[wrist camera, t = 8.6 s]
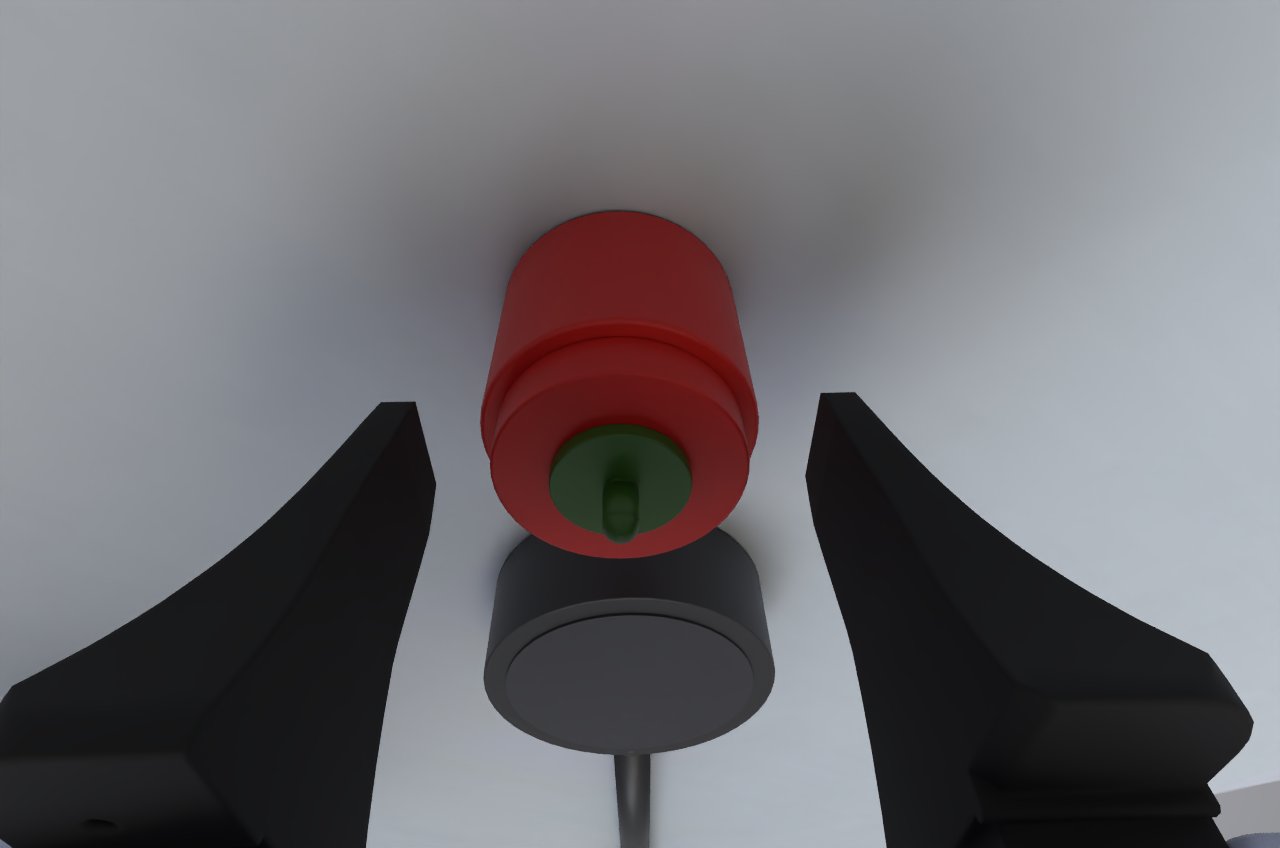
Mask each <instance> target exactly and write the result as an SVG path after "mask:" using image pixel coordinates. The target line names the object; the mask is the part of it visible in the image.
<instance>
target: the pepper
mask: <svg viewBox="0 0 1280 848" xmlns="http://www.w3.org/2000/svg"><path fill="white" fill-rule="evenodd" d="M758 424H759V416H758V408H757V402H756V397H755V393H754V388H753V384H752V379H751V375H750V370H749V366H748V361H747V357H746V352H745V348H744V343H743V339H742V334H741V330H740V325H739V321H738V316H737V312H736V307H735V303H734V298H733V294H732V290H731V287H730V283H729V280H728V277H727V275H726V273H725V271H724V269H723V267H722V265H721V264H720V262H719V261H718V260H717V258H716V257H715V255H714V254H713V253H712V252H711V251H710V250H709V248H708V247H707V246H706V245H705V244H704V243H703V242H701V241H700V240H699V239H698V238H697V237H695V236H694V235H693V234H691V233H690V232H688V231H686V230H685V229H683V228H682V227H680V226H678V225H676V224H673V223H671V222H669V221H667V220H664V219H661V218H658V217H655V216H651V215H647V214H641V213H636V212H621V211H615V212H602V213H596V214H591V215H586V216H583V217H580V218H577V219H574V220H571V221H568V222H566V223H564V224H562V225H560V226H558V227H556V228H554V229H553V230H551V231H550V232H548V233H547V234H545V235H544V236H542V237H541V238H540V239H539V240H538V241H537V242H536V243H534V244H533V245H532V246H531V247H530V248H529V249H528V251H527V252H526V253H525V254H524V255H523V257H522V258H521V259H520V261H519V263H518V264H517V266H516V267H515V269H514V271H513V274H512V276H511V278H510V281H509V283H508V287H507V291H506V295H505V300H504V305H503V310H502V314H501V319H500V324H499V328H498V333H497V338H496V342H495V347H494V352H493V356H492V361H491V366H490V370H489V375H488V380H487V385H486V389H485V394H484V399H483V403H482V408H481V420H480V426H481V435H482V440H483V443H484V447H485V450H486V453H487V455H488V457H489V459H490V470H491V478H492V482H493V485H494V489H495V491H496V493H497V495H498V497H499V499H500V502H501V503H502V504H503V506H504V507H505V509H506V510H507V512H508V513H509V514H510V515H511V516H512V517H513V518H514V520H515V521H516V522H517V523H519V524H520V525H521V526H522V527H523V528H525V529H526V530H527V531H529V532H530V533H532V534H533V535H535V536H536V537H538V538H539V539H541V540H543V541H545V542H547V543H549V544H551V545H554V546H556V547H559V548H561V549H564V550H567V551H571V552H574V553H577V554H582V555H587V556H592V557H601V558H638V557H645V556H652V555H656V554H660V553H665V552H668V551H671V550H674V549H677V548H680V547H683V546H685V545H687V544H689V543H692V542H694V541H696V540H697V539H699V538H701V537H703V536H704V535H706V534H707V533H709V532H710V531H711V530H713V529H714V528H716V527H717V526H718V525H719V524H720V523H721V522H722V521H723V520H724V519H725V518H727V516H728V515H729V514H730V513H731V512H732V510H733V509H734V508H735V506H736V505H737V503H738V501H739V500H740V498H741V496H742V494H743V491H744V489H745V486H746V484H747V480H748V475H749V463H750V457H751V455H752V452H753V449H754V447H755V444H756V439H757V435H758Z"/></svg>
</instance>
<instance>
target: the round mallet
mask: <svg viewBox="0 0 1280 848" xmlns="http://www.w3.org/2000/svg"><path fill="white" fill-rule="evenodd" d="M774 678H775V667H774V661H773V656H772V650H771V644H770V639H769V633H768V627H767V622H766V616H765V610H764V605H763V599H762V593H761V588H760V582H759V576H758V573H757V570H756V568H755V565H754V563H753V561H752V560H751V558H750V557H749V555H748V554H747V552H746V551H745V550H744V549H743V548H742V547H741V546H740V545H739V544H738V543H737V542H736V541H735V540H733V539H732V538H731V537H730V536H728V535H727V534H726V533H724V532H722V531H721V530H719V529H717V528H714V529H713V530H711V531H710V532H709V533H707V534H706V535H704V536H703V537H701V538H699V539H697V540H696V541H694V542H692V543H689V544H687V545H685V546H683V547H680V548H677V549H674V550H671V551H668V552H665V553H660V554H656V555H652V556H645V557H638V558H601V557H592V556H587V555H582V554H577V553H574V552H571V551H567V550H564V549H561V548H559V547H556V546H554V545H551V544H549V543H547V542H545V541H543V540H541V539H539V538H538V537H536V536H535V535H532V536H530V537H529V538H527V539H526V540H525V541H524V542H522V543H521V544H520V545H519V546H518V547H517V548H516V549H515V550H514V551H513V552H512V554H511V555H510V556H509V557H508V559H507V560H506V562H505V564H504V565H503V567H502V569H501V571H500V574H499V577H498V580H497V587H496V594H495V601H494V607H493V614H492V621H491V628H490V634H489V641H488V648H487V655H486V661H485V668H484V685H485V690H486V693H487V695H488V698H489V700H490V702H491V703H492V705H493V706H494V708H495V709H496V710H497V711H498V712H499V713H500V715H501V716H502V717H503V718H504V719H506V720H507V721H508V722H509V723H511V724H512V725H513V726H515V727H516V728H518V729H520V730H521V731H523V732H525V733H527V734H529V735H531V736H533V737H535V738H537V739H540V740H542V741H545V742H548V743H550V744H553V745H557V746H560V747H564V748H568V749H573V750H578V751H583V752H590V753H598V754H611V755H614V763H615V777H616V790H617V803H618V817H619V830H620V843H621V848H649V829H650V754H652V753H660V752H667V751H673V750H678V749H683V748H687V747H690V746H694V745H698V744H701V743H704V742H707V741H710V740H712V739H715V738H717V737H719V736H721V735H724V734H726V733H728V732H729V731H731V730H733V729H735V728H737V727H738V726H740V725H741V724H743V723H744V722H746V721H747V720H748V719H750V718H751V717H752V716H753V715H754V714H755V713H756V712H757V711H758V710H759V709H760V708H761V707H762V705H763V704H764V703H765V702H766V700H767V698H768V696H769V694H770V693H771V690H772V687H773V684H774Z"/></svg>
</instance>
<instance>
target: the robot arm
mask: <svg viewBox="0 0 1280 848" xmlns="http://www.w3.org/2000/svg"><path fill="white" fill-rule="evenodd" d="M805 477H806V483H807V489H808V495H809V501H810V507H811V512H812V518H813V523H814V527H815V530H816V534H817V537H818V540H819V544H820V547H821V550H822V553H823V556H824V560H825V563H826V566H827V569H828V572H829V576H830V579H831V582H832V585H833V588H834V591H835V594H836V598H837V601H838V604H839V607H840V610H841V613H842V617H843V620H844V623H845V626H846V629H847V633H848V637H849V640H850V644H851V648H852V652H853V656H854V661H855V666H856V671H857V676H858V681H859V686H860V691H861V696H862V701H863V706H864V711H865V717H866V722H867V728H868V733H869V739H870V744H871V750H872V755H873V761H874V768H875V774H876V780H877V786H878V792H879V798H880V805H881V811H882V817H883V825H884V832H885V839H886V846H887V848H1280V833H1255V834H1247V835H1242V836H1239V837H1235V838H1232V839H1229V840H1228V841H1225V840H1224V838H1223V836H1222V834H1221V833H1220V831H1219V829H1218V827H1217V826H1216V824H1215V822H1214V820H1213V819H1212V817H1217V816H1218V815H1219V814H1220V813H1221V810H1220V805H1219V803H1218V801H1217V799H1216V798H1215V796H1214V794H1213V793H1212V791H1211V789H1210V788H1209V786H1208V784H1207V783H1208V782H1209V781H1210V780H1211V779H1212V778H1213V777H1214V776H1215V775H1216V774H1217V773H1218V772H1219V771H1220V770H1221V769H1222V768H1224V767H1225V766H1226V765H1227V764H1228V763H1229V762H1230V761H1231V760H1232V759H1233V758H1234V757H1235V756H1236V755H1237V754H1238V753H1239V752H1240V751H1241V750H1242V748H1243V747H1244V746H1245V744H1246V743H1247V742H1248V741H1249V739H1250V736H1251V733H1252V728H1253V724H1254V721H1253V719H1252V717H1251V715H1250V713H1249V711H1248V710H1247V708H1246V707H1245V705H1244V704H1243V702H1242V701H1241V699H1240V698H1239V696H1238V695H1237V693H1236V692H1235V690H1234V689H1233V687H1232V686H1231V684H1230V683H1229V681H1228V680H1227V678H1226V677H1225V676H1224V674H1223V673H1222V671H1221V670H1220V669H1219V667H1218V666H1217V664H1216V663H1215V662H1214V661H1213V659H1212V658H1211V657H1210V655H1209V654H1208V653H1206V652H1204V651H1202V650H1200V649H1198V648H1196V647H1194V646H1192V645H1190V644H1188V643H1186V642H1184V641H1182V640H1179V639H1177V638H1175V637H1173V636H1171V635H1169V634H1167V633H1165V632H1163V631H1161V630H1159V629H1157V628H1155V627H1153V626H1151V625H1149V624H1147V623H1145V622H1142V621H1140V620H1139V619H1137V618H1135V617H1133V616H1131V615H1129V614H1127V613H1126V612H1124V611H1122V610H1120V609H1118V608H1117V607H1115V606H1113V605H1111V604H1110V603H1108V602H1106V601H1104V600H1102V599H1101V598H1099V597H1097V596H1095V595H1093V594H1092V593H1090V592H1088V591H1087V590H1085V589H1083V588H1082V587H1080V586H1078V585H1077V584H1075V583H1073V582H1072V581H1070V580H1069V579H1067V578H1065V577H1064V576H1062V575H1061V574H1059V573H1058V572H1056V571H1055V570H1053V569H1052V568H1050V567H1049V566H1047V565H1046V564H1044V563H1043V562H1041V561H1039V560H1038V559H1036V558H1035V557H1033V556H1032V555H1031V554H1029V553H1028V552H1026V551H1025V550H1023V549H1022V548H1021V547H1019V546H1018V545H1016V544H1015V543H1014V542H1012V541H1011V540H1010V539H1008V538H1007V537H1006V536H1005V535H1003V534H1002V533H1001V532H999V531H998V530H997V529H995V528H994V527H993V526H991V525H990V524H989V523H988V522H986V521H985V520H984V519H982V518H981V517H980V516H979V515H978V514H976V513H975V512H974V511H973V510H971V509H970V508H969V507H968V506H967V505H966V504H965V503H963V502H962V501H961V500H960V499H959V498H958V497H957V496H956V495H954V494H953V493H952V492H951V491H950V490H949V489H948V488H947V487H946V486H944V485H943V484H942V483H941V482H940V481H939V480H938V479H937V478H936V477H935V476H934V475H933V474H932V473H931V472H930V471H929V470H928V469H927V468H926V467H925V466H924V465H923V464H922V463H921V462H920V461H919V460H918V459H917V458H916V457H915V456H914V455H913V454H912V453H911V452H910V451H909V450H908V449H907V448H906V447H905V446H904V445H903V444H902V443H901V442H900V441H899V440H898V438H897V437H896V436H895V435H894V434H893V433H892V432H891V431H890V430H889V429H888V428H887V427H886V425H885V424H884V423H883V422H882V421H881V420H880V419H879V418H878V417H877V416H876V415H875V413H874V412H873V411H872V410H871V409H870V408H869V407H868V406H867V405H866V404H865V402H864V401H863V400H862V399H861V398H860V397H859V396H858V395H857V394H856V393H855V392H843V393H821V395H820V400H819V405H818V411H817V416H816V421H815V427H814V432H813V437H812V443H811V448H810V453H809V459H808V464H807V470H806V475H805ZM435 490H436V481H435V477H434V473H433V469H432V465H431V462H430V458H429V454H428V450H427V446H426V442H425V438H424V434H423V430H422V426H421V422H420V418H419V414H418V410H417V406H416V402H381V403H380V404H379V405H378V406H377V407H376V408H375V409H374V410H373V411H372V412H371V413H370V414H369V415H368V417H367V418H366V419H365V420H364V421H363V422H362V423H361V424H360V425H359V427H358V428H357V429H356V430H355V431H354V432H353V433H352V434H351V436H350V437H349V438H348V439H347V440H346V441H345V442H344V443H343V444H342V446H341V447H340V448H339V449H338V450H337V451H336V452H335V453H334V454H333V456H332V457H331V458H330V459H329V460H328V461H327V462H326V463H325V464H324V465H323V466H322V467H321V468H320V469H319V470H318V471H317V473H316V474H315V475H314V476H313V477H312V478H311V479H310V480H309V481H308V482H307V483H306V484H305V485H304V486H303V487H302V488H301V489H300V490H299V491H298V492H297V493H296V494H295V495H294V496H293V497H292V498H291V499H290V500H289V501H288V502H287V503H286V504H285V505H284V506H283V507H282V508H281V509H279V510H278V511H277V512H276V513H275V514H274V515H273V516H272V517H271V518H270V519H269V520H268V521H267V522H266V523H265V524H263V525H262V526H261V527H260V528H259V529H258V530H256V531H255V532H254V533H253V534H252V535H251V536H249V537H248V538H247V539H246V540H245V541H243V542H242V543H241V544H240V545H238V546H237V547H236V548H235V549H233V550H232V551H231V552H230V553H229V554H227V555H226V556H225V557H224V558H222V559H221V560H220V561H218V562H217V563H216V564H214V565H213V566H212V567H210V568H209V569H207V570H206V571H205V572H203V573H202V574H200V575H199V576H198V577H196V578H195V579H193V580H192V581H190V582H189V583H188V584H186V585H185V586H183V587H182V588H181V589H179V590H178V591H176V592H175V593H174V594H172V595H171V596H169V597H168V598H166V599H165V600H163V601H162V602H160V603H159V604H157V605H156V606H154V607H153V608H151V609H149V610H148V611H146V612H145V613H143V614H142V615H140V616H138V617H137V618H135V619H134V620H132V621H130V622H129V623H127V624H125V625H124V626H122V627H120V628H119V629H117V630H115V631H114V632H112V633H110V634H109V635H107V636H105V637H104V638H102V639H100V640H98V641H96V642H95V643H93V644H91V645H89V646H88V647H86V648H84V649H82V650H80V651H78V652H76V653H75V654H73V655H71V656H69V657H67V658H65V659H63V660H61V661H59V662H58V663H56V664H54V665H52V666H50V667H48V668H46V669H44V670H42V671H41V672H39V673H37V674H35V675H33V676H31V677H29V678H27V679H25V680H23V681H21V682H19V683H17V684H15V685H13V686H12V687H11V689H10V690H9V691H8V693H7V694H6V695H5V697H4V698H3V700H2V701H1V703H0V848H366V841H367V832H368V824H369V816H370V809H371V801H372V793H373V786H374V778H375V771H376V764H377V757H378V751H379V744H380V738H381V731H382V725H383V718H384V712H385V706H386V701H387V695H388V689H389V684H390V678H391V672H392V666H393V662H394V658H395V654H396V649H397V645H398V641H399V638H400V634H401V631H402V627H403V624H404V620H405V617H406V613H407V610H408V607H409V603H410V600H411V596H412V593H413V589H414V586H415V582H416V579H417V576H418V572H419V568H420V565H421V561H422V558H423V554H424V551H425V547H426V544H427V540H428V536H429V531H430V525H431V519H432V512H433V505H434V497H435Z"/></svg>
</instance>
